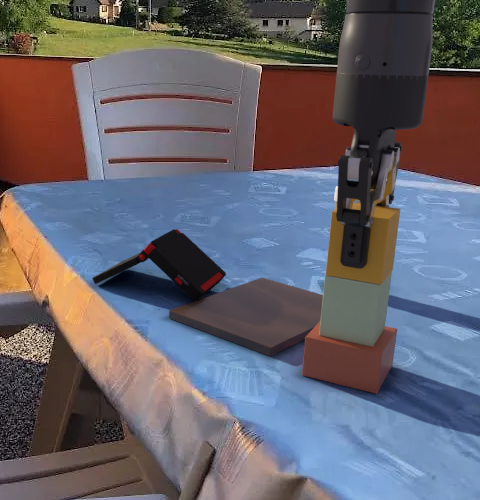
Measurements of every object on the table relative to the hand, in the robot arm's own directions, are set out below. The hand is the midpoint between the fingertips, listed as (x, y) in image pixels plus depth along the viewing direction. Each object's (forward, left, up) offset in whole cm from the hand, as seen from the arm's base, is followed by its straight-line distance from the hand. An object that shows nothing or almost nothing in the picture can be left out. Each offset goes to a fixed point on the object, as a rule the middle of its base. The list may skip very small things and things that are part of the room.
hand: (360, 258), depth 66 cm
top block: (0, 0, -1) cm, 1 cm away
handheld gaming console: (-5, -27, -6) cm, 28 cm away
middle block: (0, 0, -7) cm, 7 cm away
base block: (0, 0, -11) cm, 11 cm away
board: (-6, -14, -11) cm, 19 cm away
